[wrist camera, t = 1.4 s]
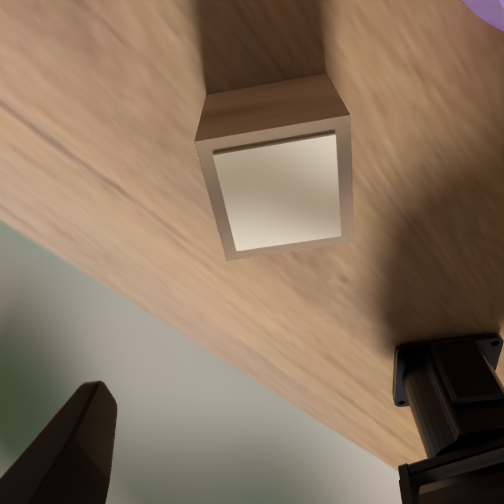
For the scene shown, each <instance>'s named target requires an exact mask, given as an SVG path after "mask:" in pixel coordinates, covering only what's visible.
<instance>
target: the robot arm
mask: <svg viewBox="0 0 504 504" xmlns="http://www.w3.org/2000/svg"><path fill="white" fill-rule="evenodd" d="M502 346H503V339H502V337H501V336H500V335H499V334H497V333H491V334H482V335H474V336H465V337H457V338H449V339H440V340H432V341H423V342H415V343H407V344H401V345H399V346H398V347H397V348H396V350H395V370H394V390H393V400H394V403H395V405H396V406H398V407H404V406H410V408H411V411H412V414H413V417H414V420H415V423H416V426H417V429H418V432H419V434H420V437H421V440H422V443H423V446H424V449H425V452H426V455H427V458H428V459H424V460H421V461H418V462H415V463H412V464H409V465H408V464H407V463H406V464H403V465H400V466H398V469H399V476H400V480H399V486H400V491H401V499H402V504H504V387H503V385H502V383H501V381H500V380H499V378H498V376H497V374H496V372H495V370H496V367H497V363H498V360H499V356H500V353H501V349H502ZM116 419H117V404H116V401H115V399H114V397H113V396H112V394H111V393H110V391H109V389H108V388H107V386H106V385H105V383H104V382H102V381H91V382H85V383H83V384H82V385H80V386H79V388H78V389H77V390H76V391H75V392H74V393H73V395H72V396H71V397H70V398H69V399H68V400H67V401H66V403H65V404H64V405H63V406H62V407H61V409H60V410H59V411H58V412H57V413H56V414H55V415H54V417H53V418H52V419H51V420H50V422H48V424H47V425H46V426H45V427H44V428H43V429H42V430H41V432H40V433H39V434H38V435H37V436H36V437H35V439H34V440H33V441H32V442H31V443H30V444H29V446H28V447H27V448H26V449H25V450H24V451H23V453H22V454H21V455H20V456H19V457H18V458H17V459H16V461H15V462H14V463H13V464H12V465H11V466H10V468H9V469H8V470H7V471H6V472H5V473H4V475H3V476H2V477H1V478H0V504H105V503H106V498H107V493H108V488H109V482H110V475H111V467H112V458H113V448H114V439H115V429H116Z"/></svg>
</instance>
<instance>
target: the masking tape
mask: <svg viewBox="0 0 504 504" xmlns="http://www.w3.org/2000/svg"><path fill="white" fill-rule="evenodd" d="M462 1H463V2H464V4H465V5H466V6H467V7H468V8H469V9H470V10H471V11H472V12H473V13H474V14H476V15H477V16H478V17H479V18H480V19H482V20H483V21H485V22H487V23H488V24H490V25H491V26H493V27H495V28H497V29H499V30H501V31H503V32H504V0H462Z"/></svg>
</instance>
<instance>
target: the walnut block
mask: <svg viewBox="0 0 504 504" xmlns="http://www.w3.org/2000/svg"><path fill="white" fill-rule="evenodd" d="M195 146H196V149H197V153H198V157H199V160H200V164H201V168H202V172H203V175H204V179H205V183H206V186H207V190H208V194H209V197H210V201H211V205H212V209H213V212H214V216H215V220H216V223H217V227H218V231H219V234H220V238H221V242H222V246H223V249H224V253H225V257H226V260H227V261H228V260H235V259H242V258H249V257H256V256H263V255H270V254H277V253H284V252H291V251H298V250H305V249H312V248H319V247H326V246H333V245H340V244H347V243H354V216H353V185H352V153H351V122H350V114H349V112H348V110H347V108H346V106H345V105H344V103H343V101H342V99H341V98H340V96H339V94H338V92H337V90H336V89H335V87H334V85H333V83H332V82H331V80H330V78H329V76H328V75H327V73H323V74H317V75H312V76H306V77H301V78H295V79H290V80H284V81H279V82H273V83H268V84H262V85H257V86H252V87H246V88H241V89H235V90H230V91H224V92H219V93H213V94H208V95H206V98H205V102H204V106H203V110H202V114H201V118H200V122H199V126H198V130H197V134H196V138H195Z"/></svg>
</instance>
